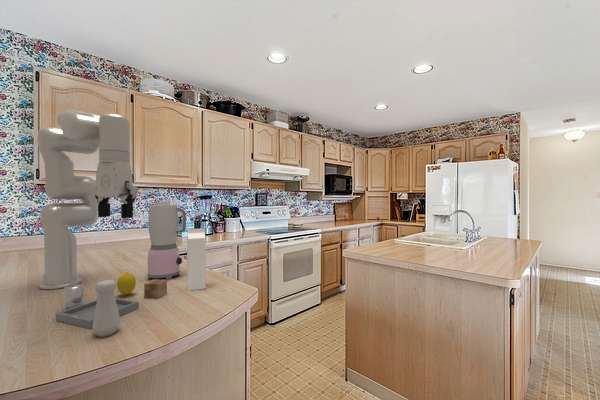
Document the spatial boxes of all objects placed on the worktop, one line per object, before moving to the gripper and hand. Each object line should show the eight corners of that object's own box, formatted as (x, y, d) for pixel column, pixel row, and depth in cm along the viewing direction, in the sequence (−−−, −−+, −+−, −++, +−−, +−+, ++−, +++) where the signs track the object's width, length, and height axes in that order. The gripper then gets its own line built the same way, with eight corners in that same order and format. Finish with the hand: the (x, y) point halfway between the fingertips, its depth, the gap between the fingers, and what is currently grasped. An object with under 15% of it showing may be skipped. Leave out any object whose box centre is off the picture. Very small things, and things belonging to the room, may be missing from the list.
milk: (187, 286, 106) (186, 228, 106) (204, 284, 109) (203, 227, 109) (188, 291, 101) (187, 230, 100) (206, 288, 103) (205, 228, 103)
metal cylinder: (61, 311, 83) (61, 287, 83) (77, 305, 88) (77, 283, 87) (71, 313, 82) (70, 289, 82) (87, 307, 86) (86, 284, 86)
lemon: (127, 298, 93) (126, 274, 93) (113, 297, 94) (112, 273, 94) (139, 293, 99) (139, 270, 99) (126, 292, 100) (126, 269, 100)
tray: (55, 320, 77) (55, 313, 77) (106, 302, 90) (106, 296, 90) (90, 328, 72) (90, 321, 72) (138, 308, 85) (138, 301, 85)
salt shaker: (102, 327, 73) (101, 277, 72) (125, 326, 73) (124, 277, 73) (86, 339, 67) (86, 285, 67) (112, 338, 67) (111, 284, 67)
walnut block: (144, 298, 94) (144, 283, 94) (153, 293, 99) (153, 279, 98) (158, 299, 93) (158, 284, 93) (166, 293, 98) (166, 279, 98)
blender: (141, 281, 112) (140, 201, 112) (157, 272, 125) (156, 201, 124) (180, 281, 112) (179, 201, 112) (192, 272, 124) (191, 201, 124)
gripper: (81, 158, 81) (82, 217, 81) (123, 155, 74) (123, 219, 75) (107, 161, 88) (108, 215, 88) (147, 158, 81) (148, 217, 82)
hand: (115, 217), depth 81 cm, fingers open, 9 cm apart
